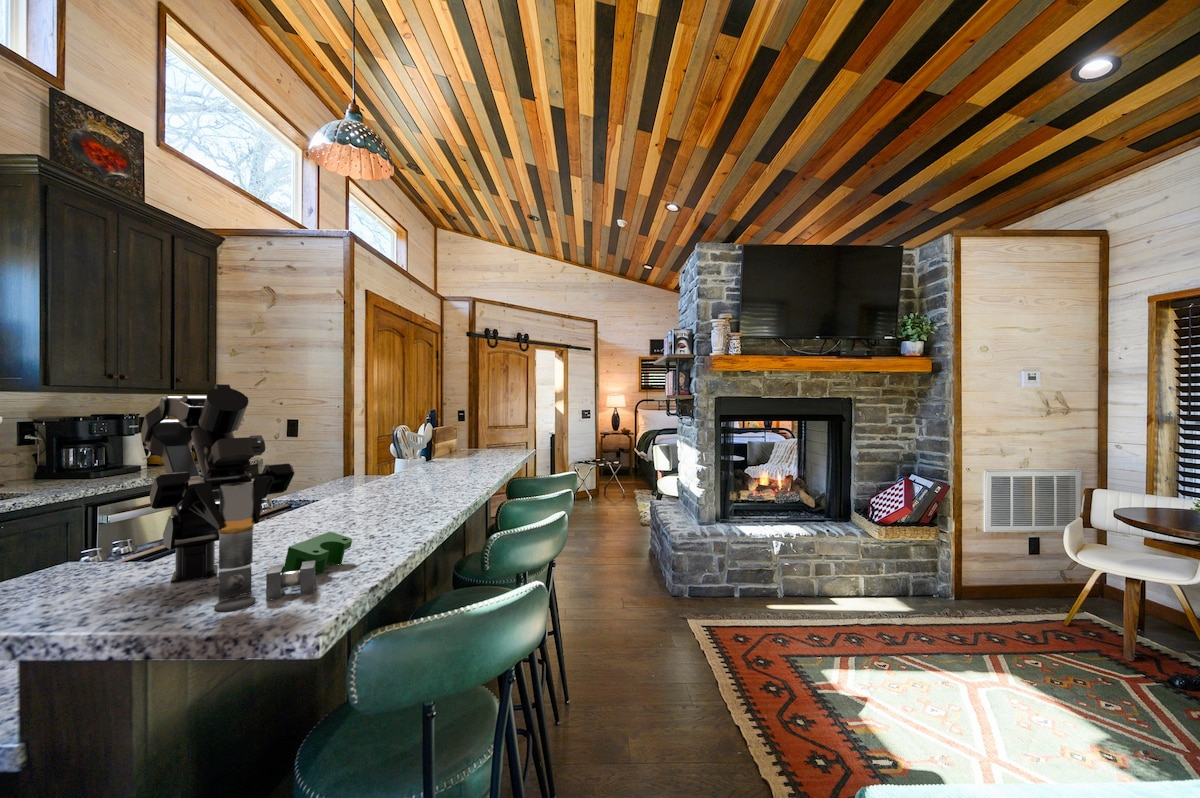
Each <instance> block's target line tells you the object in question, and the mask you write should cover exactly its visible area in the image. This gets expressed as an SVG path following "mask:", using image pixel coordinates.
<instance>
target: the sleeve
mask: <svg viewBox="0 0 1200 798" xmlns="http://www.w3.org/2000/svg"><path fill="white" fill-rule="evenodd" d="M219 495H220V516H221V519H222V524H223V527H222V529H221V530H219V540H218V568H219V569H220V568H222V569H232V568H239V567H243V566H246V565H249V564H251V565H252V564H253V560H254V559H253V556H254V554H253V553H254V552H253V551H254V529H255V523H254V516H253V496H254V483H253V482H233V483H225V484H221V485H220V491H219Z"/></svg>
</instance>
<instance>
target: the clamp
mask: <svg viewBox="0 0 1200 798" xmlns="http://www.w3.org/2000/svg"><path fill="white" fill-rule="evenodd" d="M352 543H353V538H351V537H349V536H345V535H343V534H339V533H336V532H334V531H328V532H324V533H321V534H319V535H317V536H314V537H311V538H308V539H306V540H303V541H300V542H298V543H296V544H295V543H294V544H293V545H290V546H288V548H287V553H286V557H285V561H284V572H290V571H297V570H300V569H301V566H302V562H306V561H314V560H316V574H318V575H323V574H325V572H326V571H325V570H326V566H327V564H333V565H336V564H339V565H340V564H341V565H342V563H343V559H344V555H345V551H346V550H349V549H350V548H351V547H352ZM339 565H338V566H339ZM341 565H340V566H341Z"/></svg>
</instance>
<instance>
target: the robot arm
mask: <svg viewBox="0 0 1200 798" xmlns="http://www.w3.org/2000/svg"><path fill="white" fill-rule="evenodd" d="M248 406H249V398H248V396H247V395H245V393H242V392H241V391H239V390H237V389H234V388H231V385H230V384H229V383H228V384H225V383H223V384H222V383H221V384H220V383H215V385H214V389H211V390H210V391H209V392H208V393H207V394H206V395H183V396H179V395H173V396H172V395H171V396H169V395H168V396H167V395H166V396H164V397H161V399H160V401H159V403H158V406H156V407H154V409H152V410H150V411H149V412H148V413H146V414H145V415H144V418H143V422H142V426H141V430H140V431H141V432H140V433H141V434H140V435H141V437H140V438H141V441H142V443H145V445H146V446H147V447H146V448H147V449H148V452H149V453H151V454H153V455H156V456H158V457H160V458H161V459H162V462H163V465H164V468H165V471H166V473H159V474H158V475H156V476H155V477H154V479H153V481H152V485H151V489H150V493H149V502H150V506H151V509H154V510H159V509H167V508H171V511H170V512H171V513H170V515H169V516H168V518H167V520H166V524H165V527H164V529H163V533H162V538H163V540H162V541H163V546H164V547H165V548H167V549H168V550H169V551H170V550H174V549H175V571H173V574H172V577H171V580H170V583H171V584H175V583H181V582H188V581H193V580H198V579H199V580H200V579H204V578H205V579H206V578H212V577H216V576H218V567H219V564H215V560H216V557H215V555H216V552H215V550H216V548H215V546H216V542H217V541H218V542H219V530H221V529H222V527H223V524H222V519H221V516H220V485H221V484H225V483H233V482H253V483H254V496H253V516H254V525H257V524H259V523H260V520H261V519H260V518H261V511H262V503H263V499H265V498H267V496H268V495H276V494H282V493H284V492H286V491H287V490H288V488H289V486H290V484H291V482H292V479H293V477H294V475H295V473H296V472H295V470H294V467H293V465H291V463H289V462H283V463H282V462H281V463H271V464H265V465H264V467H263V469H262V471H261V473H254V474H251V473H247V472H246V471H247V470H248V471H249V470H250V469H251V461H250V460H251V459H252V458H254V457H255V456H262V455H263V454H264V453H265V451H266V442H265V440H264V438H263V436H262V434H257V435H255V434H254V435H250V436H248V437H235V434H234V432H236V431H238V430H239V429H240V427H241V425H242V424H241V423H242V421H243V418H244V415H245V414H246V413H245V412H246V410H247V407H248ZM166 417H174V418H171V419H169V418H168V419H167V418H166ZM175 418H176V419H175ZM192 448H193V449H194V450H195V454H196V458H197V462H198V466H197V463H196V461H195V458H194V455H193V453H192ZM200 473H201V474H200Z"/></svg>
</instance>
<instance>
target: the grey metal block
mask: <svg viewBox="0 0 1200 798" xmlns="http://www.w3.org/2000/svg"><path fill="white" fill-rule="evenodd" d="M249 592H251V593H252V563H251V564H249V565H246V566H243V567H239V568H232V569H222V568H219V570H218V599H219V600H220V599H221V598H222V599H226V598H227V599H228V598H233V597H237V596H241V595H240V594H243V595H245V594H244V593H248V594H250V593H249ZM236 595H237V596H236Z"/></svg>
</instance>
